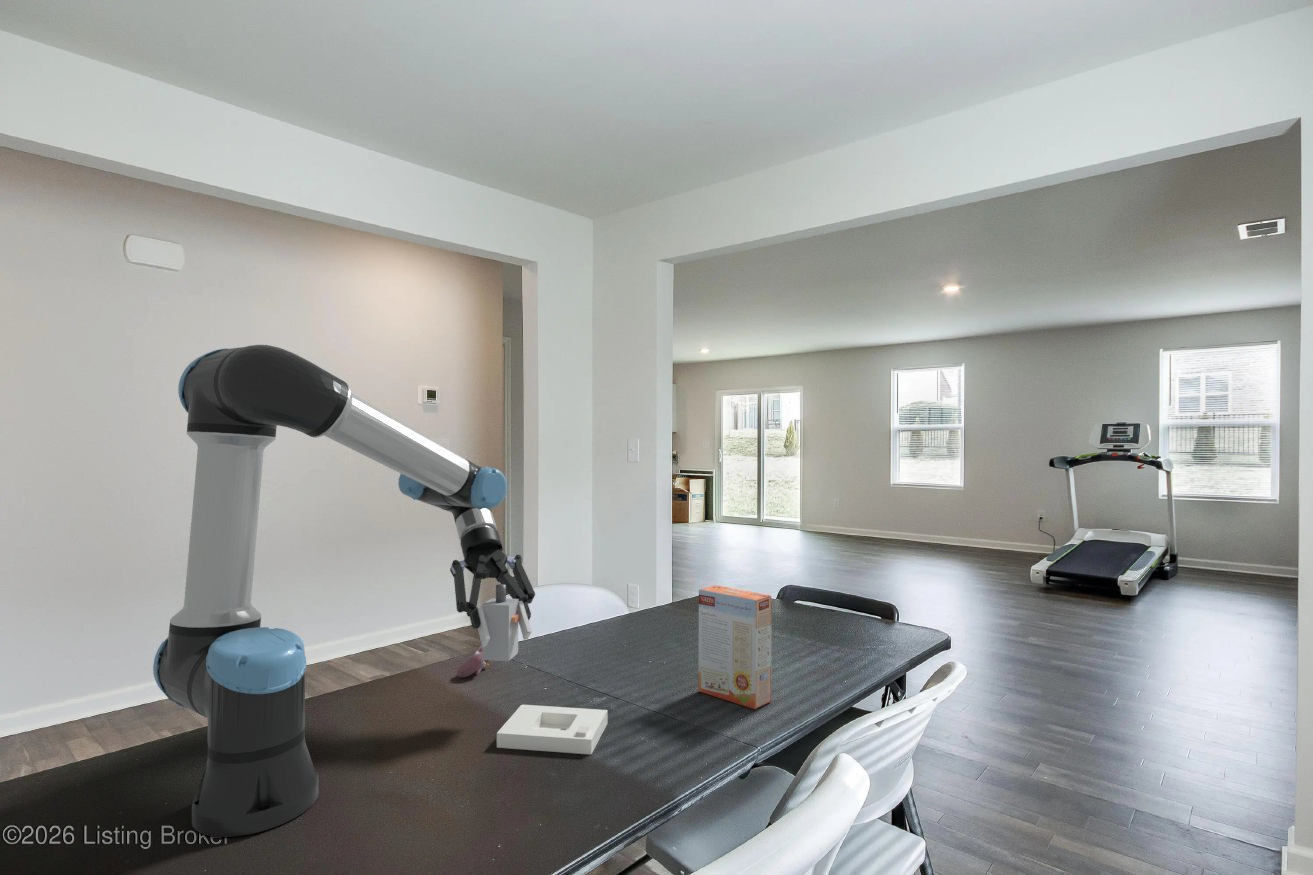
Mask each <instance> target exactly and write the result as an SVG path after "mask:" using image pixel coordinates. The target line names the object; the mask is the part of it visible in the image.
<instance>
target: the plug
mask: <svg viewBox="0 0 1313 875" xmlns="http://www.w3.org/2000/svg"><path fill="white" fill-rule="evenodd" d="M506 593H507V591H506V585H505V584H501V583H499V584H495V597H492V598H490V599H488V600H487V601H485V602H484V603H482V604H481V606H482V609H483V612H484V616H485V620H486V624H487V628H488V632H489V636H490V639H489V641H488V644H487V646H483V647H482V660H491V661H498V662H499V661H500V662H510V661H511V660H512V659H513V658H514V657H515V656H516V655H517V654H519V622H518V620H519V614H518V605H519V599H512V598H509V597H508V598H507V594H506Z"/></svg>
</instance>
